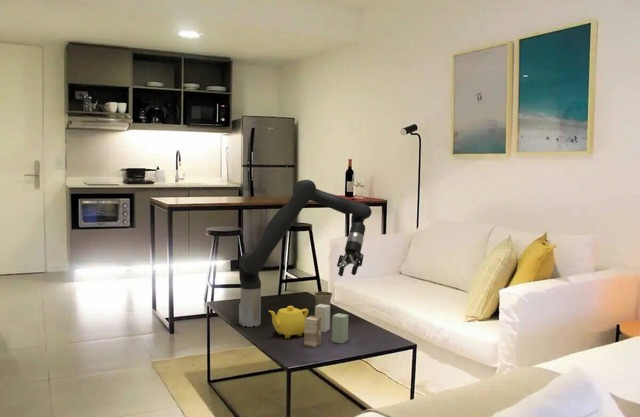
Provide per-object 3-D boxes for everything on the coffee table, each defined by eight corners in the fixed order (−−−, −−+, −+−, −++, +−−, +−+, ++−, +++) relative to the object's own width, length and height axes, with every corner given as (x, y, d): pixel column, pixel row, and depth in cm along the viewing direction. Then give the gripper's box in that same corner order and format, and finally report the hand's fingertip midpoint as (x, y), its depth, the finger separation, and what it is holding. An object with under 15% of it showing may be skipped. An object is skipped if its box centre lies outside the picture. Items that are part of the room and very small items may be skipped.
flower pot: (319, 313, 278) (319, 296, 277) (310, 309, 286) (310, 292, 286) (335, 311, 282) (335, 294, 282) (326, 307, 291) (327, 290, 290)
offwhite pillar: (324, 332, 248) (325, 307, 247) (314, 330, 250) (315, 306, 249) (329, 329, 252) (330, 305, 251) (319, 327, 254) (320, 303, 254)
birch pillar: (314, 346, 227) (315, 320, 227) (304, 344, 230) (304, 318, 229) (320, 343, 232) (321, 317, 231) (310, 341, 234) (310, 315, 233)
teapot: (260, 334, 243) (261, 306, 242) (299, 327, 254) (300, 300, 253) (276, 342, 232) (276, 313, 231) (316, 335, 243) (316, 307, 242)
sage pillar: (342, 343, 232) (343, 317, 232) (331, 341, 235) (332, 315, 234) (347, 340, 237) (348, 314, 236) (337, 338, 239) (337, 313, 238)
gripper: (338, 241, 269) (330, 273, 263) (359, 238, 259) (352, 270, 252) (349, 248, 274) (341, 279, 267) (370, 245, 263) (363, 277, 257)
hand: (346, 275), depth 260 cm, fingers open, 8 cm apart
